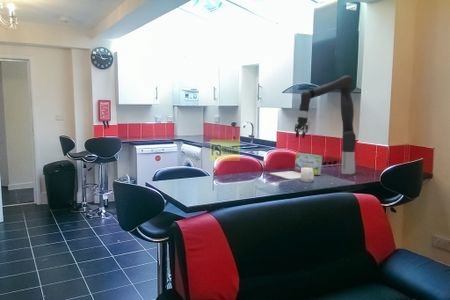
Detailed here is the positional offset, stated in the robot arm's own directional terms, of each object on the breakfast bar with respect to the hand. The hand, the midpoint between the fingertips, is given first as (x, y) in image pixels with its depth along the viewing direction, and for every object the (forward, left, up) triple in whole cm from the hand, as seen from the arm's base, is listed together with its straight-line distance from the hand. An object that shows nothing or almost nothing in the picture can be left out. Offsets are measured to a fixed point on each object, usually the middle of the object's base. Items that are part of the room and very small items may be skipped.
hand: (300, 137), depth 289 cm
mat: (+14, +8, -28) cm, 32 cm away
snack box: (-1, +8, -27) cm, 28 cm away
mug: (+17, +31, -28) cm, 45 cm away
